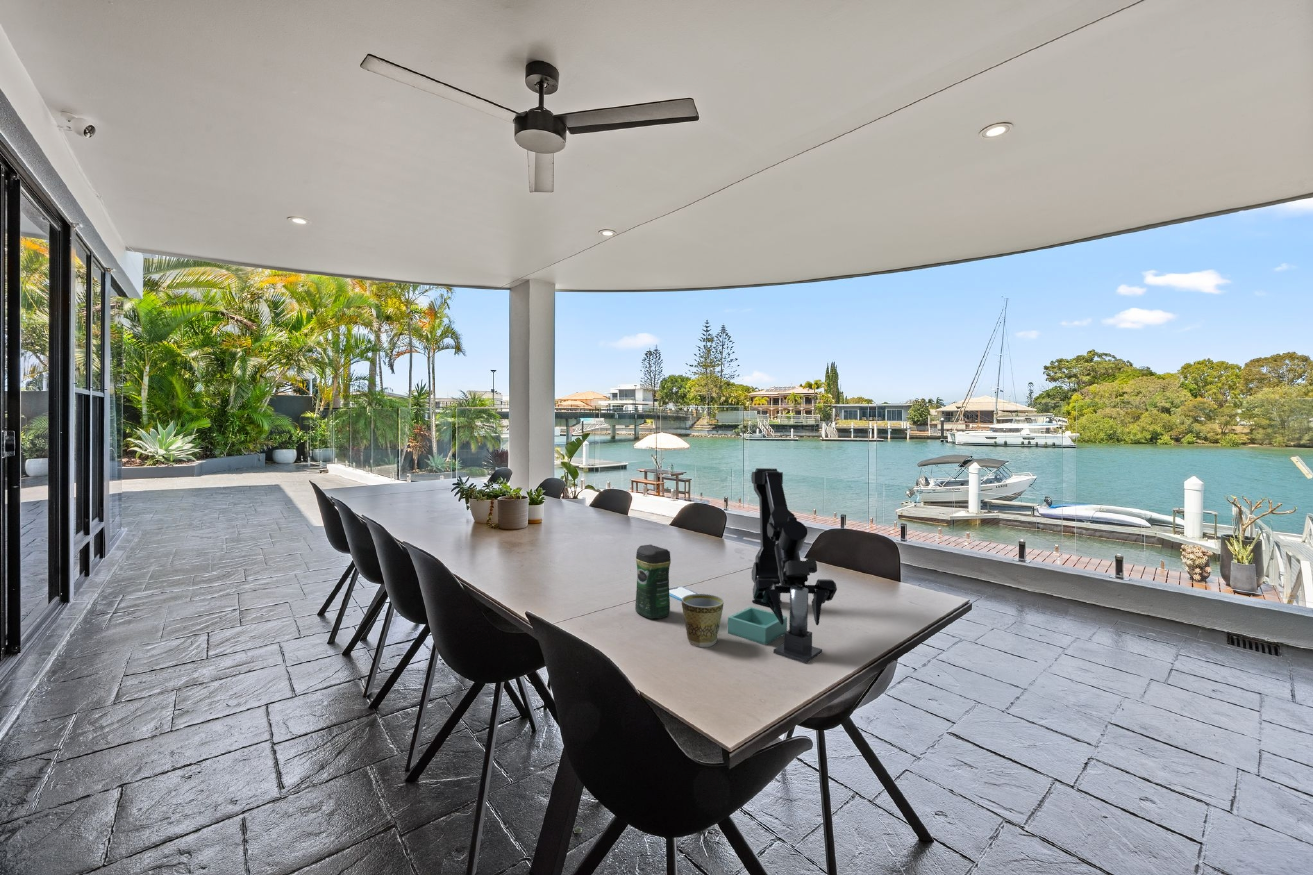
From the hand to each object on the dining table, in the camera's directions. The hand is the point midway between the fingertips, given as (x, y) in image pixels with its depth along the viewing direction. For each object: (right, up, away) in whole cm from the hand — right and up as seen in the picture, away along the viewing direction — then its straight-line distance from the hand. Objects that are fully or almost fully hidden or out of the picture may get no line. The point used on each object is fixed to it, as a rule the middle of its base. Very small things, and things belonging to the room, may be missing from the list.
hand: (800, 624), depth 122 cm
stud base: (0, -7, +2) cm, 7 cm away
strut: (0, -6, +2) cm, 6 cm away
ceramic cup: (-22, -7, +9) cm, 24 cm away
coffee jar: (-33, -6, +26) cm, 43 cm away
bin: (-7, -7, +13) cm, 16 cm away
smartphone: (-23, -6, +40) cm, 47 cm away
